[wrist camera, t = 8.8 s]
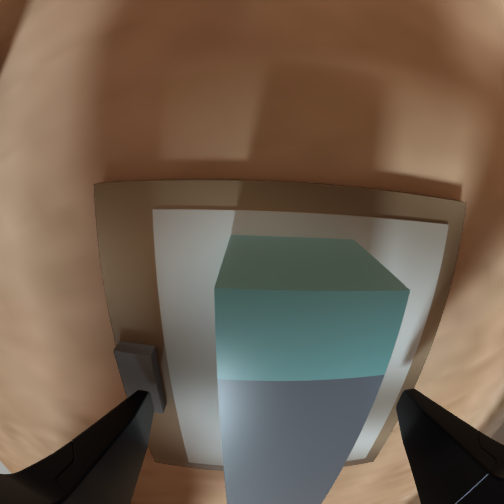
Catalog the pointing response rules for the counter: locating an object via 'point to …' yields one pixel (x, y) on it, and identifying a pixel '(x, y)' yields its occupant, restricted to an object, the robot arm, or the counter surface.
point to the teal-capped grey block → (298, 360)
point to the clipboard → (206, 272)
